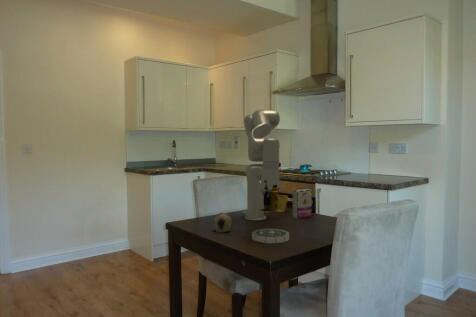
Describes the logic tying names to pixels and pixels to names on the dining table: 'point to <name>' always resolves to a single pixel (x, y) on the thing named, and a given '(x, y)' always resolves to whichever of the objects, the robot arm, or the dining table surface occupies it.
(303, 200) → the candy bar box
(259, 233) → the faceted plate
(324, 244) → the dining table surface
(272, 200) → the condiment
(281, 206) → the plant pot
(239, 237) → the dining table surface
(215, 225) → the garlic bulb
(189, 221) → the dining table surface
